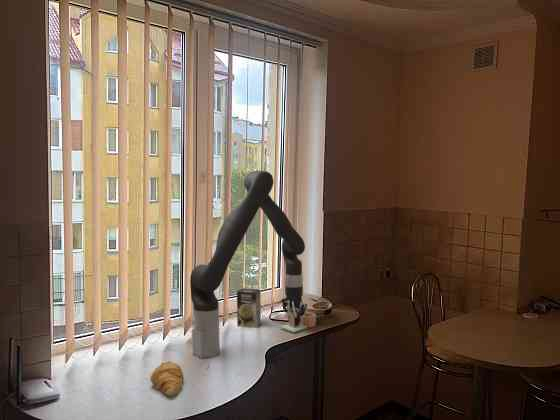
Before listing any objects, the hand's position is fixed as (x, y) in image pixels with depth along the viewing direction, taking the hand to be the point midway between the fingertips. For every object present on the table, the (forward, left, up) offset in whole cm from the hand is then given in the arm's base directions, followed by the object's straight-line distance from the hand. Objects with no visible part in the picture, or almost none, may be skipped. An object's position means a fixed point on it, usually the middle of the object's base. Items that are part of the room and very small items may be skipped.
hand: (294, 324), depth 199 cm
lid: (0, 0, -2) cm, 2 cm away
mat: (0, 0, -3) cm, 3 cm away
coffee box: (-10, +18, -3) cm, 21 cm away
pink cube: (+9, 0, -3) cm, 9 cm away
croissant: (-64, -6, -3) cm, 64 cm away
